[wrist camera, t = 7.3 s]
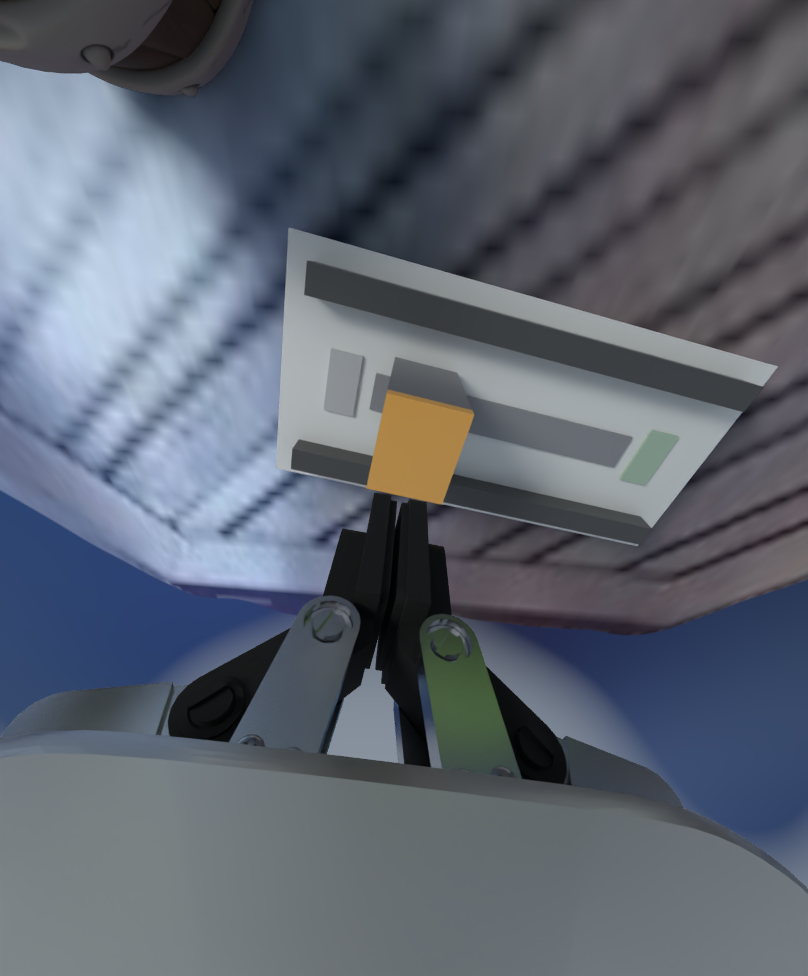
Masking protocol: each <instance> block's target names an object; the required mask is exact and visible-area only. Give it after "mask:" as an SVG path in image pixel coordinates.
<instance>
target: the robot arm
mask: <svg viewBox="0 0 808 976" xmlns="http://www.w3.org/2000/svg"><path fill="white" fill-rule="evenodd" d="M396 508H397V501H393V500H391V495H385V494H380V493H374V498H373V503H372V508H371V513H370V518H369V523H368V529H367V533H365V532H359V531H353V530H348V529H342V531H341V535H340V538H339V542H338V545H337V549H336V552H335V556H334V559H333V563H332V566H331V570H330V573H329V577H328V580H327V584H326V587H325V591H324V594H323V596H321V597H318V598H315V599H312V600H311V601H310V602H308V603H307V604H305V605H304V607H303V608H302V609H301V610H300V612H299V614H298V615H297V617H296V619H295V621H294V623H293V625H292V627H291V628H290V629H288V630H286V631H284V632H282V633H280V634H279V635H277V636H275V637H273V638H271V639H269V640H267V641H266V642H264V643H262V644H260V645H258V646H256V647H255V648H253V649H251V650H249V651H247V652H246V653H244V654H242V655H240V656H238V657H236V658H234V659H233V660H231V661H229V662H227V663H225V664H223V665H221V666H220V667H218V668H216V669H214V670H213V671H210V672H208V673H207V674H205V675H203V676H201V677H199V678H198V679H196V680H195V681H193V682H192V683H191V684H189V685H184V686H173V682H166V683H155V684H144V685H134V686H122V687H111V688H101V689H100V688H99V689H89V690H77V691H67V692H62V693H58V694H54V695H50V696H48V697H46V698H44V699H42V700H40V701H38V702H36V703H34V704H32V705H31V706H30V707H28V708H27V709H26V710H24V711H23V712H22V713H20V714H19V715H18V716H17V717H16V718H15V719H14V720H13V721H12V723H11V724H10V725H9V726H8V727H7V728H6V730H5V731H4V732H3V734H2V736H1V737H0V976H808V889H807V887H806V886H805V885H804V884H802V883H801V882H800V881H799V880H798V879H797V878H796V877H795V876H794V875H793V874H792V873H791V872H790V871H789V870H787V869H786V868H785V867H784V866H782V865H781V864H780V863H779V862H777V861H776V860H775V859H773V858H772V857H771V856H770V855H768V854H767V853H766V852H764V851H763V850H761V849H760V848H758V847H757V846H755V845H754V844H752V843H751V842H749V841H748V840H746V839H744V838H742V837H741V836H739V835H737V834H736V833H734V832H732V831H730V830H729V829H727V828H726V827H724V826H722V825H719V824H717V823H716V822H713V821H712V820H710V819H708V818H706V817H704V816H702V815H699V814H697V813H694V812H692V811H689V810H687V809H684V808H683V806H682V804H681V802H680V800H679V798H678V797H677V795H676V794H675V793H674V791H673V790H672V788H671V787H670V786H669V785H668V784H667V783H666V782H665V781H664V780H663V779H662V778H661V777H660V776H659V775H658V774H656V773H654V772H653V771H651V770H649V769H647V768H646V767H643V766H641V765H638V764H636V763H633V762H630V761H628V760H626V759H623V758H621V757H618V756H616V755H613V754H611V753H608V752H605V751H603V750H600V749H597V748H595V747H593V746H590V745H588V744H585V743H583V742H580V741H578V740H575V739H572V738H570V737H568V736H565V737H564V738H563V739H561V738H558V737H556V736H555V734H554V733H553V732H552V731H551V730H550V729H549V727H548V726H547V725H546V724H545V723H544V722H543V721H542V720H541V719H540V718H539V717H538V716H536V714H535V713H534V712H533V711H532V710H531V709H530V708H528V707H527V706H526V705H525V704H524V703H523V702H522V701H521V700H520V699H519V698H518V697H517V696H516V695H515V694H514V693H513V692H512V691H511V690H510V689H509V688H508V687H507V686H506V685H505V684H504V683H503V682H502V681H501V680H500V679H499V678H498V677H497V676H496V675H495V674H494V673H493V672H492V671H490V669H489V668H487V667H486V665H485V662H484V659H483V656H482V653H481V650H480V646H479V643H478V640H477V638H476V636H475V634H474V632H473V631H472V629H471V628H470V627H469V626H468V625H467V624H466V623H465V622H463V621H462V620H460V619H459V618H457V617H454V616H452V615H451V605H450V595H449V586H448V576H447V567H446V557H445V550H444V547H443V546H437V545H432V544H428V523H427V504H426V502H422V501H417V500H412V499H409V501H408V503H403V502H402V504H401V507H400V512H399V516H398V520H397V524H396V528H395V521H396ZM378 636H379V637H378ZM377 640H378V647H377V656H376V668H375V669H376V670H380V671H382V679H381V680H382V681H381V683H382V684H385V689H386V690H387V691H388V693H389V694H390V695H391V697H392V698H393V699H394V709H393V710H394V721H395V732H396V743H397V756H398V763H392V762H384V761H376V760H368V759H360V758H352V757H344V756H335V755H327V752H328V749H329V746H330V742H331V739H332V736H333V733H334V730H335V726H336V723H337V720H338V717H339V714H340V711H341V708H342V704H343V701H344V697H346V696H347V695H348V694H350V693H351V692H352V691H353V690H355V689H356V688H357V687H359V686H360V685H361V682H362V678H363V674H364V670H365V668H366V669H369V668H370V666H371V662H372V658H373V655H374V651H375V647H376V643H377Z"/></svg>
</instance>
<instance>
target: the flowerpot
mask: <svg viewBox="0 0 808 976" xmlns="http://www.w3.org/2000/svg"><path fill="white" fill-rule="evenodd" d="M253 1H254V0H0V61H4V62H7V63H11V64H14V65H17V66H21V67H24V68H29V69H34V70H40V71H45V72H55V73H90V74H92V75H94V76H96V77H98V78H100V79H102V80H104V81H106V82H108V83H111V84H113V85H116V86H119V87H122V88H126V89H129V90H133V91H139V92H144V93H150V94H158V95H180V94H186V95H187V96H189V97H195V96H196V95H197V92H198V88H200V87H202V86H204V85H205V84H207V83H209V82H210V81H211V80H212V79H213V78H215V77H216V75H217V74H218V73H219V72H220V71H221V70H222V69H223V67H224V66H225V65H226V63H227V62H228V61H229V59H230V58H231V56H232V54H233V53H234V51H235V49H236V47H237V46H238V44H239V42H240V39H241V37H242V35H243V32H244V30H245V27H246V24H247V21H248V19H249V15H250V12H251V8H252V5H253Z"/></svg>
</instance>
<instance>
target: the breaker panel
mask: <svg viewBox="0 0 808 976" xmlns="http://www.w3.org/2000/svg"><path fill="white" fill-rule="evenodd" d="M395 357H398V358H402V359H406V360H410V361H414V362H417V363H421V364H425V365H429V366H433V367H437V368H441V369H445V370H449V371H453V372H457V373H458V376H459V378H460V381H461V383H462V386H463V388H464V390H465V393H466V395H467V398H468V400H469V403H470V405H471V408H472V410H473V413H474V417H473V420H472V423H471V426H470V429H469V431H468V434H467V437H466V440H465V442H464V445H463V448H462V451H461V453H460V456H459V459H458V462H457V464H456V467H455V470H454V473H453V476H452V478H451V481H450V484H449V487H448V489H447V492H446V495H445V498H444V500H443V503H442V504H444V505H449V506H454V507H458V508H463V509H467V510H472V511H477V512H481V513H486V514H491V515H495V516H500V517H504V518H509V519H514V520H518V521H523V522H528V523H532V524H537V525H541V526H546V527H551V528H555V529H560V530H565V531H569V532H574V533H578V534H583V535H588V536H592V537H597V538H601V539H606V540H611V541H615V542H620V543H625V544H629V545H634V546H638V545H640V544H641V543H642V542H643V540H644V539H645V538H646V536H647V535H648V534H649V533H650V531H651V530H652V527H653V526H654V525H655V523H656V522H657V521H658V519H659V518H660V517H661V516H662V514H663V513H664V512H665V510H666V509H667V508H668V507H669V505H670V504H671V503H672V501H673V500H674V499H675V498H676V496H677V495H678V494H679V493H680V491H681V490H682V489H683V487H684V486H685V485H686V484H687V482H688V481H689V480H690V478H691V477H692V476H693V475H694V473H695V472H696V471H697V469H698V468H699V467H700V466H701V464H702V463H703V462H704V461H705V459H706V458H707V457H708V455H709V454H710V453H711V452H712V450H713V449H714V448H715V446H716V445H717V444H718V443H719V441H720V440H721V439H722V437H723V436H724V435H725V434H726V432H727V431H728V430H729V429H730V427H731V426H732V425H733V423H734V422H735V421H736V420H737V418H738V417H739V416H740V414H741V413H742V412H744V411H745V410H746V409H747V408H748V406H749V405H750V404H751V403H752V401H753V400H754V399H755V397H756V396H757V395H758V394H759V392H760V391H761V390H762V389H763V387H762V386H763V385H764V384H765V382H766V381H767V380H768V379H769V377H770V376H771V375H772V374H773V372H774V371H775V370H776V368H777V367H778V366H774V365H771V364H767V363H763V362H760V361H756V360H753V359H749V358H746V357H742V356H739V355H735V354H732V353H728V352H725V351H721V350H718V349H714V348H711V347H707V346H704V345H700V344H697V343H693V342H690V341H686V340H683V339H679V338H676V337H672V336H669V335H665V334H662V333H658V332H655V331H651V330H648V329H644V328H641V327H637V326H634V325H630V324H627V323H623V322H620V321H616V320H612V319H609V318H605V317H602V316H598V315H595V314H591V313H588V312H584V311H581V310H577V309H574V308H570V307H567V306H563V305H560V304H556V303H553V302H549V301H546V300H542V299H539V298H535V297H532V296H528V295H525V294H521V293H518V292H514V291H511V290H507V289H504V288H500V287H497V286H493V285H490V284H486V283H483V282H479V281H476V280H472V279H469V278H465V277H462V276H458V275H454V274H451V273H447V272H444V271H440V270H437V269H433V268H430V267H426V266H423V265H419V264H416V263H412V262H409V261H405V260H402V259H398V258H395V257H391V256H388V255H384V254H381V253H377V252H374V251H370V250H367V249H363V248H360V247H356V246H353V245H349V244H346V243H342V242H339V241H335V240H332V239H328V238H325V237H321V236H318V235H314V234H311V233H307V232H304V231H300V230H296V229H293V228H288V248H287V267H286V286H285V305H284V325H283V344H282V363H281V382H280V401H279V421H278V440H277V459H276V468H278V469H283V470H287V471H292V472H296V473H301V474H306V475H310V476H315V477H320V478H324V479H329V480H333V481H338V482H343V483H347V484H352V485H357V486H361V487H366V486H367V482H368V477H369V473H370V468H371V463H372V459H373V454H374V449H375V445H376V440H377V435H378V431H379V426H380V421H381V417H382V412H383V407H384V403H385V398H386V393H387V389H388V385H389V381H390V377H391V372H392V368H393V364H394V360H395Z"/></svg>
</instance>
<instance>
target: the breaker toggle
mask: <svg viewBox="0 0 808 976" xmlns="http://www.w3.org/2000/svg"><path fill="white" fill-rule="evenodd" d="M473 417H474V413H473V410H472V408H471V405H470V403H469V400H468V398H467V395H466V393H465V390H464V388H463V386H462V383H461V381H460V378H459V376H458V373H457V372H453V371H449V370H445V369H441V368H437V367H433V366H429V365H425V364H421V363H417V362H414V361H410V360H406V359H402V358H398V357H395V360H394V364H393V368H392V372H391V377H390V381H389V385H388V389H387V393H386V398H385V403H384V407H383V412H382V417H381V421H380V426H379V431H378V435H377V440H376V445H375V449H374V454H373V459H372V463H371V468H370V473H369V477H368V482H367V486H366V488H367V489H372V490H376V491H381V492H386V493H390V494H395V495H399V496H404V497H409V498H413V499H418V500H423V501H427V502H432V503H436V504H441V505H442V503H443V500H444V498H445V495H446V492H447V489H448V487H449V484H450V481H451V478H452V476H453V473H454V470H455V467H456V464H457V462H458V459H459V456H460V453H461V451H462V448H463V445H464V442H465V440H466V437H467V434H468V431H469V429H470V426H471V423H472V420H473Z"/></svg>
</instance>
